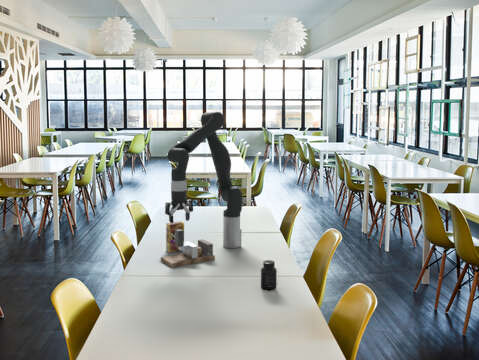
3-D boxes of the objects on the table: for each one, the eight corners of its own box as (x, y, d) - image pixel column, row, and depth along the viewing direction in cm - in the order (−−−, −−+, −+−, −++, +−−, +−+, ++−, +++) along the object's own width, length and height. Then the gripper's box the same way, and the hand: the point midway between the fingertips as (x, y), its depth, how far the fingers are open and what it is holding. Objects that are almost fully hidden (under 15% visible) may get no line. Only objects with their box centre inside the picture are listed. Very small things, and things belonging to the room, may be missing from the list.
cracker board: (202, 253, 271) (202, 238, 270) (214, 259, 261) (214, 244, 260) (161, 261, 258) (160, 245, 256) (172, 267, 248) (171, 251, 246)
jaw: (188, 252, 265) (187, 226, 262) (197, 257, 256) (197, 230, 254) (172, 255, 260) (172, 228, 257) (181, 260, 251) (181, 232, 249)
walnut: (198, 252, 265) (198, 246, 264) (203, 255, 261) (203, 248, 261) (191, 254, 262) (191, 247, 262) (195, 256, 259) (195, 249, 258)
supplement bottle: (259, 285, 226) (260, 259, 224) (275, 285, 226) (275, 259, 224) (261, 291, 219) (262, 264, 217) (277, 291, 219) (278, 264, 217)
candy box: (169, 253, 271) (169, 224, 268) (165, 250, 274) (165, 223, 272) (184, 250, 276) (184, 222, 273) (180, 248, 279) (180, 221, 277)
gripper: (188, 186, 257) (188, 218, 260) (162, 189, 250) (162, 222, 252) (195, 188, 251) (195, 221, 254) (169, 192, 243) (169, 225, 246)
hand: (179, 221), depth 253 cm, fingers open, 8 cm apart
